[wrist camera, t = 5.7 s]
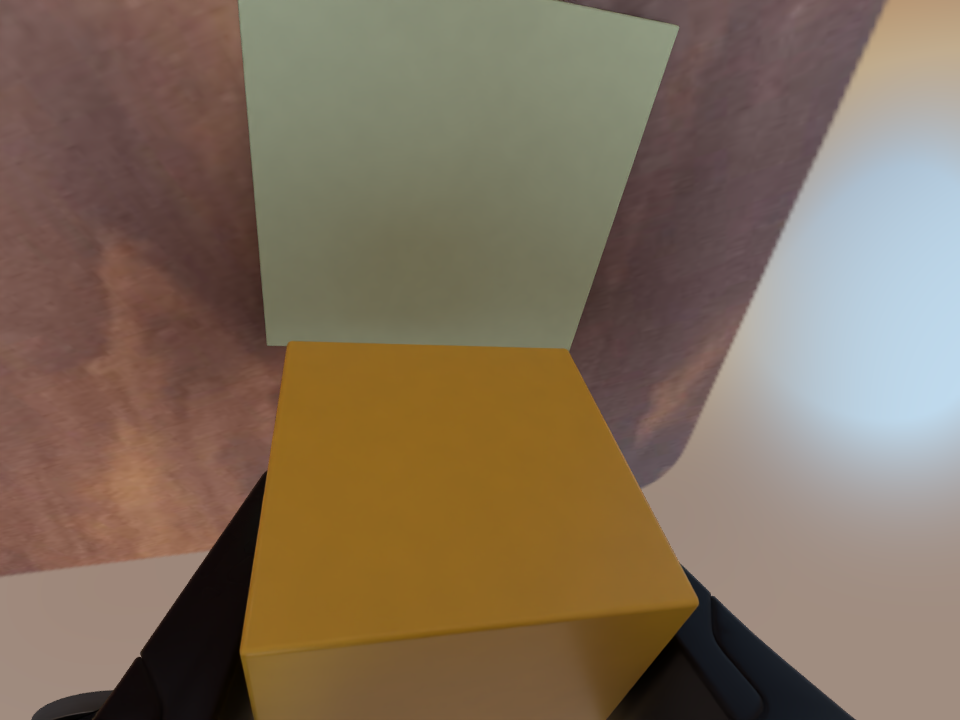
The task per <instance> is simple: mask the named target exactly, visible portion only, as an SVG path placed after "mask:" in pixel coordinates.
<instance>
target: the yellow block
mask: <svg viewBox="0 0 960 720" xmlns="http://www.w3.org/2000/svg"><path fill="white" fill-rule="evenodd" d="M698 605H699V600H698V597H697V595H696V593H695V591H694V590H693V588H692V586H691V584H690V582H689V580H688V578H687V576H686V574H685V572H684V571H683V569H682V567H681V565H680V563H679V561H678V559H677V557H676V555H675V553H674V551H673V550H672V548H671V546H670V544H669V542H668V540H667V538H666V536H665V534H664V532H663V531H662V529H661V527H660V525H659V523H658V521H657V519H656V517H655V515H654V513H653V512H652V510H651V508H650V506H649V504H648V502H647V500H646V498H645V496H644V494H643V492H642V490H641V489H640V487H639V485H638V483H637V481H636V479H635V477H634V475H633V473H632V471H631V469H630V468H629V466H628V464H627V462H626V460H625V458H624V456H623V454H622V452H621V450H620V448H619V447H618V445H617V443H616V441H615V439H614V437H613V435H612V433H611V431H610V429H609V428H608V426H607V424H606V422H605V420H604V418H603V416H602V414H601V412H600V410H599V408H598V407H597V405H596V403H595V401H594V399H593V397H592V395H591V393H590V391H589V389H588V387H587V386H586V384H585V382H584V380H583V378H582V376H581V374H580V372H579V370H578V368H577V366H576V365H575V363H574V361H573V359H572V357H571V355H570V353H569V351H568V350H567V349H564V348H529V347H493V346H457V345H421V344H385V343H349V342H313V341H290V342H288V344H287V348H286V355H285V361H284V367H283V374H282V380H281V387H280V393H279V400H278V406H277V413H276V419H275V426H274V432H273V438H272V445H271V451H270V458H269V464H268V471H267V477H266V484H265V490H264V496H263V503H262V509H261V516H260V522H259V529H258V535H257V542H256V548H255V554H254V561H253V567H252V574H251V580H250V587H249V593H248V600H247V606H246V612H245V619H244V625H243V632H242V638H241V645H240V656H241V661H242V665H243V670H244V675H245V680H246V684H247V689H248V694H249V699H250V703H251V708H252V713H253V718H254V720H606V719H607V718H608V717H609V715H610V714H611V713H612V712H613V711H614V709H615V708H616V707H617V706H618V704H619V703H620V702H621V701H622V699H623V698H624V697H625V696H626V694H627V693H628V692H629V691H630V689H631V688H632V687H633V686H634V685H635V683H636V682H637V681H638V680H639V678H640V677H641V676H642V675H643V673H644V672H645V671H646V670H647V668H648V667H649V666H650V665H651V664H652V662H653V661H654V660H655V659H656V657H657V656H658V655H659V654H660V652H661V651H662V650H663V649H664V647H665V646H666V645H667V644H668V643H669V641H670V640H671V639H672V638H673V636H674V635H675V634H676V633H677V631H678V630H679V629H680V628H681V626H682V625H683V624H684V623H685V622H686V620H687V619H688V618H689V617H690V615H691V614H692V613H693V612H694V610H695V609H696V608H697V607H698Z"/></svg>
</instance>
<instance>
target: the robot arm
mask: <svg viewBox="0 0 960 720" xmlns="http://www.w3.org/2000/svg"><path fill="white" fill-rule="evenodd" d="M267 471H268V470H267ZM267 471H266V472H265V473H264V474H263V475H262V476H261V478H260V479H259V481H258V482H257V484H256V485H255V487H254V488H253V489H252V491H251V492H250V494H249V495H248V497H247V498H246V500H245V501H244V502H243V504H242V505H241V507H240V508H239V510H238V511H237V513H236V514H235V516H234V517H233V518H232V520H231V521H230V523H229V524H228V526H227V527H226V529H225V530H224V531H223V533H222V534H221V536H220V537H219V539H218V540H217V542H216V543H215V545H214V546H213V547H212V549H211V550H210V552H209V553H208V555H207V556H206V558H205V559H204V561H203V562H202V564H201V565H200V566H199V568H198V570H197V571H196V572H195V574H194V575H193V576H192V578H191V579H190V581H189V582H188V584H187V586H186V587H185V588H184V590H183V591H182V592H181V594H180V595H179V597H178V598H177V600H176V601H175V603H174V604H173V606H172V607H171V609H170V610H169V611H168V613H167V614H166V616H165V617H164V619H163V620H162V621H161V623H160V625H159V626H158V627H157V629H156V630H155V632H154V633H153V635H152V636H151V638H150V639H149V640H148V642H147V643H146V645H145V646H144V648H143V649H142V651H141V652H140V655H141V657H142V658H141V657H137V658H136V659H135V660H134V662H133V663H132V665H131V666H130V668H129V669H128V670H127V672H126V674H125V675H124V676H123V678H122V679H121V681H120V682H119V684H118V685H117V686H116V688H115V689H114V690H113V692H112V693H111V695H110V696H109V697H108V699H107V700H106V701H105V703H104V704H103V706H102V707H101V708H100V709H98V710H96V711H93V712H91V713H88V714H86V715H84V716H81V717H79V718H76V719H74V720H254V718H253V713H252V708H251V703H250V699H249V694H248V689H247V684H246V680H245V675H244V670H243V665H242V661H241V656H240V645H241V638H242V632H243V625H244V619H245V612H246V606H247V600H248V593H249V587H250V580H251V574H252V567H253V561H254V554H255V548H256V542H257V535H258V529H259V522H260V516H261V509H262V503H263V496H264V490H265V484H266V477H267ZM680 565H681V564H680ZM681 567H682V569H683V571H684V572H685V574H686V576H687V578H688V580H689V582H690V584H691V586H692V588H693V590H694V591H695V593H696V595H697V597H698V600H699V605H698V607H697V608H696V609H695V610H694V612H693V613H692V614H691V615H690V617H689V618H688V619H687V620H686V622H685V623H684V624H683V625H682V626H681V628H680V629H679V630H678V631H677V633H676V634H675V635H674V636H673V638H672V639H671V640H670V641H669V643H668V644H667V645H666V646H665V647H664V649H663V650H662V651H661V652H660V654H659V655H658V656H657V657H656V659H655V660H654V661H653V662H652V664H651V665H650V666H649V667H648V668H647V670H646V671H645V672H644V673H643V675H642V676H641V677H640V678H639V680H638V681H637V682H636V683H635V685H634V686H633V687H632V688H631V689H630V691H629V692H628V693H627V694H626V696H625V697H624V698H623V699H622V701H621V702H620V703H619V704H618V706H617V707H616V708H615V709H614V711H613V712H612V713H611V714H610V715H609V717H608V718H607V719H606V720H856V719H854V718H853V717H852V716H850V715H849V714H848V713H847V712H846V711H844V710H843V709H842V708H841V707H839V706H838V705H837V704H836V703H835V702H833V701H832V700H831V699H830V698H829V697H827V696H826V695H825V694H824V693H823V692H822V691H820V690H819V689H818V688H817V687H816V686H815V685H813V684H812V683H811V682H810V681H808V680H807V679H806V678H805V677H804V676H802V675H801V674H800V673H799V672H798V671H797V670H795V669H794V668H793V667H792V666H790V665H789V664H788V663H787V662H786V661H785V660H783V659H782V658H781V657H780V656H779V655H778V654H777V653H775V652H774V651H773V650H772V649H771V648H770V647H768V646H767V645H766V644H765V643H764V642H763V641H762V640H760V639H759V638H758V637H757V636H756V635H754V634H753V633H752V632H751V631H750V630H749V629H748V628H747V627H746V626H745V625H744V624H743V623H742V622H741V621H740V620H739V619H737V618H736V617H735V616H734V615H733V614H732V613H731V612H730V611H729V610H728V609H727V608H726V607H725V606H724V605H723V604H722V603H721V602H720V601H719V600H718V599H717V598H715V597H714V596H711V594H710V592H709V591H708V590H707V589H706V588H705V587H704V586H703V585H702V584H701V583H700V582H699V581H698V580H697V579H696V578H695V577H694V576H693V575H692V574H690V573H689V572H688V571H687V570H686V569H685V568H684V567H683V566H682V565H681Z"/></svg>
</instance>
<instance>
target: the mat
mask: <svg viewBox="0 0 960 720" xmlns="http://www.w3.org/2000/svg"><path fill="white" fill-rule="evenodd" d="M238 10H239V22H240V34H241V45H242V57H243V69H244V81H245V93H246V104H247V116H248V128H249V140H250V152H251V163H252V175H253V187H254V199H255V211H256V222H257V234H258V246H259V258H260V269H261V281H262V293H263V305H264V317H265V328H266V340H267V345H268V346H287V344H288V342H290V341H313V342H349V343H385V344H421V345H457V346H493V347H529V348H564V349H567V350H568V351H569V350H570V347H571V344H572V341H573V338H574V335H575V332H576V330H577V327H578V324H579V321H580V318H581V315H582V312H583V309H584V306H585V303H586V300H587V297H588V294H589V291H590V288H591V285H592V282H593V280H594V277H595V274H596V271H597V268H598V265H599V262H600V259H601V256H602V253H603V250H604V247H605V244H606V241H607V238H608V235H609V232H610V230H611V227H612V224H613V221H614V218H615V215H616V212H617V209H618V206H619V203H620V200H621V197H622V194H623V191H624V188H625V185H626V182H627V179H628V177H629V174H630V171H631V168H632V165H633V162H634V159H635V156H636V153H637V150H638V147H639V144H640V141H641V138H642V135H643V132H644V129H645V127H646V124H647V121H648V118H649V115H650V112H651V109H652V106H653V103H654V100H655V97H656V94H657V91H658V88H659V85H660V82H661V79H662V76H663V74H664V71H665V68H666V65H667V62H668V59H669V56H670V53H671V50H672V47H673V44H674V41H675V38H676V35H677V32H678V29H679V26H678V25H674V24H670V23H665V22H660V21H655V20H650V19H646V18H641V17H636V16H631V15H626V14H621V13H616V12H612V11H607V10H602V9H597V8H592V7H587V6H583V5H578V4H573V3H568V2H563V1H558V0H238Z"/></svg>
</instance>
